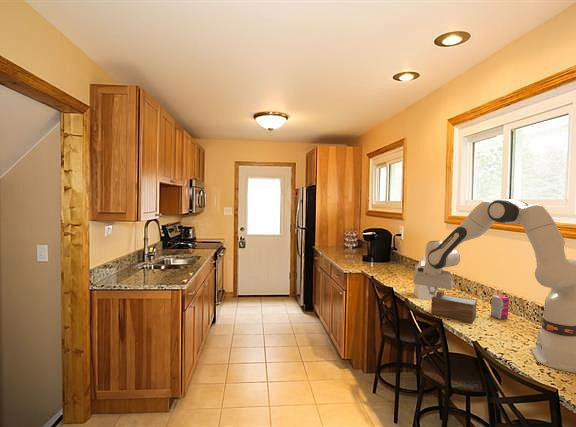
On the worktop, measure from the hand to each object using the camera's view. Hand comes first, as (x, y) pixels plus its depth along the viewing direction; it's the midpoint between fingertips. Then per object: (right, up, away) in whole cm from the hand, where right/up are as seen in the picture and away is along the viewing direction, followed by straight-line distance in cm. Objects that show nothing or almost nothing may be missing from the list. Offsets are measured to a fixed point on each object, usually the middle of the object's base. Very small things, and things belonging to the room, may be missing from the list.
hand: (432, 294), depth 195 cm
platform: (+22, -11, +9) cm, 26 cm away
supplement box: (+33, -11, -6) cm, 36 cm away
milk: (+9, -9, +31) cm, 34 cm away
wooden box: (+9, -10, -6) cm, 15 cm away
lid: (+9, -2, -6) cm, 11 cm away
